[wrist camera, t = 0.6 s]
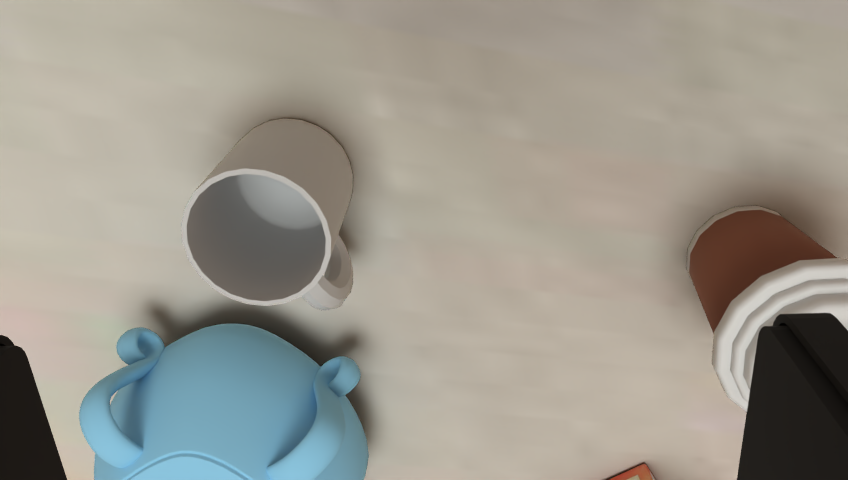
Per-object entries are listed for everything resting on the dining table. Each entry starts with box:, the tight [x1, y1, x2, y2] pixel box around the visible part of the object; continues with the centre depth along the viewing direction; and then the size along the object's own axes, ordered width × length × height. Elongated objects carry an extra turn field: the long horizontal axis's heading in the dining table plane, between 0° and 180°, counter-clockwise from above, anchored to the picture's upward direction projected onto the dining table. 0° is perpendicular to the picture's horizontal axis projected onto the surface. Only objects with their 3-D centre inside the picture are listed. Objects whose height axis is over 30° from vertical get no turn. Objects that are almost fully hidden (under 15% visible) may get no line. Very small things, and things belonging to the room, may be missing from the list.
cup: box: [181, 118, 353, 310], centre depth 40 cm, size 7×10×9 cm
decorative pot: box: [79, 323, 369, 480], centre depth 45 cm, size 16×16×14 cm
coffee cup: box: [686, 205, 848, 412], centre depth 39 cm, size 9×9×12 cm
